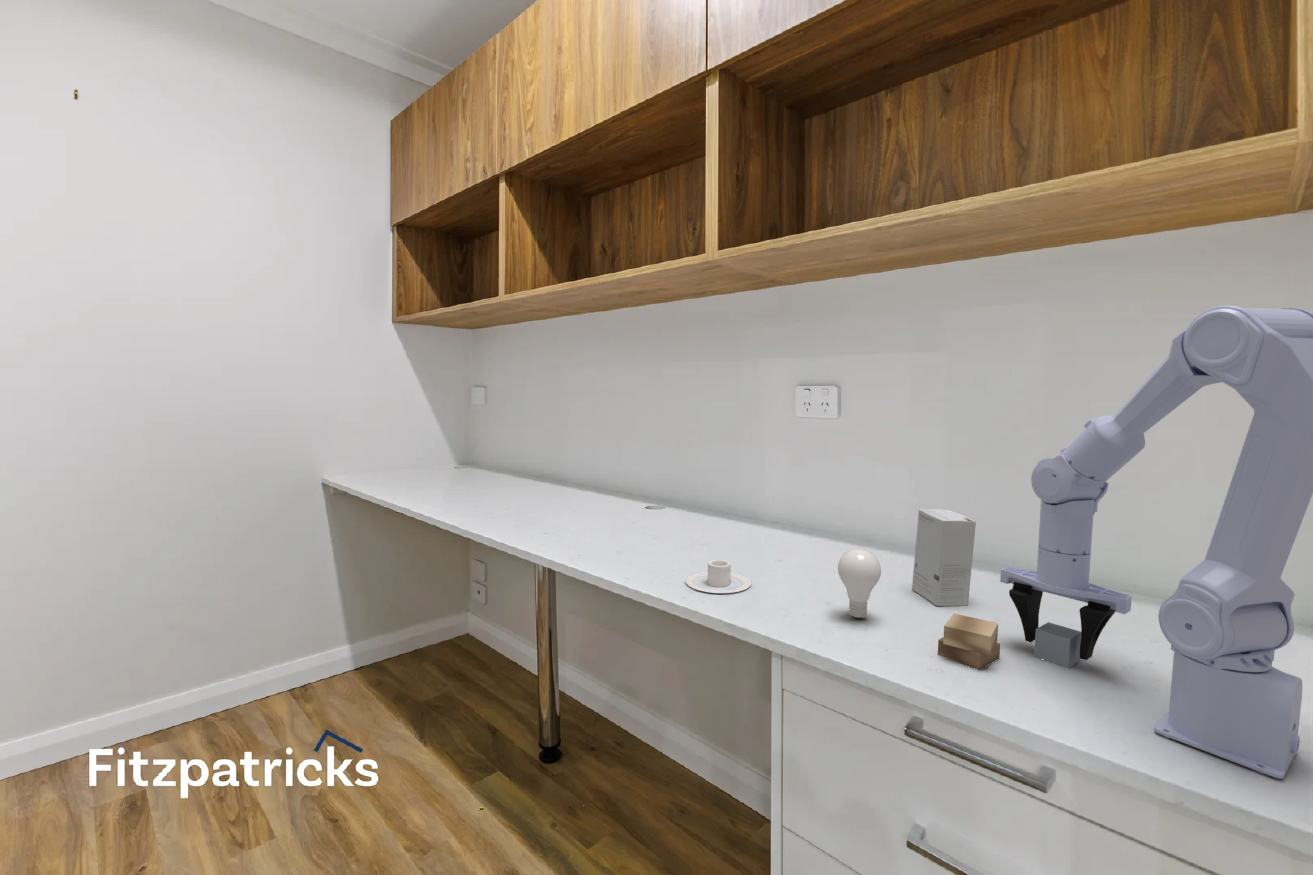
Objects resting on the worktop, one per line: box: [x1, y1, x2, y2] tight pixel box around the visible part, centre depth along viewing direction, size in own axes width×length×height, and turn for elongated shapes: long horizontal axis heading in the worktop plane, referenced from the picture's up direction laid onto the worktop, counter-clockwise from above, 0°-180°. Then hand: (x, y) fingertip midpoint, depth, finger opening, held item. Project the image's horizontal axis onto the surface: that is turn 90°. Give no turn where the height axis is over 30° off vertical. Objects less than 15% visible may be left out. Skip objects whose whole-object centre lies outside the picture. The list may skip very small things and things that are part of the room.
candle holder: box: [684, 559, 752, 594], centre depth 109 cm, size 12×12×4 cm
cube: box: [1033, 621, 1081, 669], centre depth 79 cm, size 4×4×4 cm
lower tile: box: [937, 636, 1001, 671], centre depth 80 cm, size 6×6×2 cm
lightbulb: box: [837, 548, 882, 620], centre depth 92 cm, size 6×6×11 cm
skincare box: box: [911, 508, 977, 607], centre depth 101 cm, size 8×6×15 cm
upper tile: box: [942, 613, 999, 656], centre depth 79 cm, size 6×6×2 cm
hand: (1057, 648), depth 79 cm, fingers open, 6 cm apart
